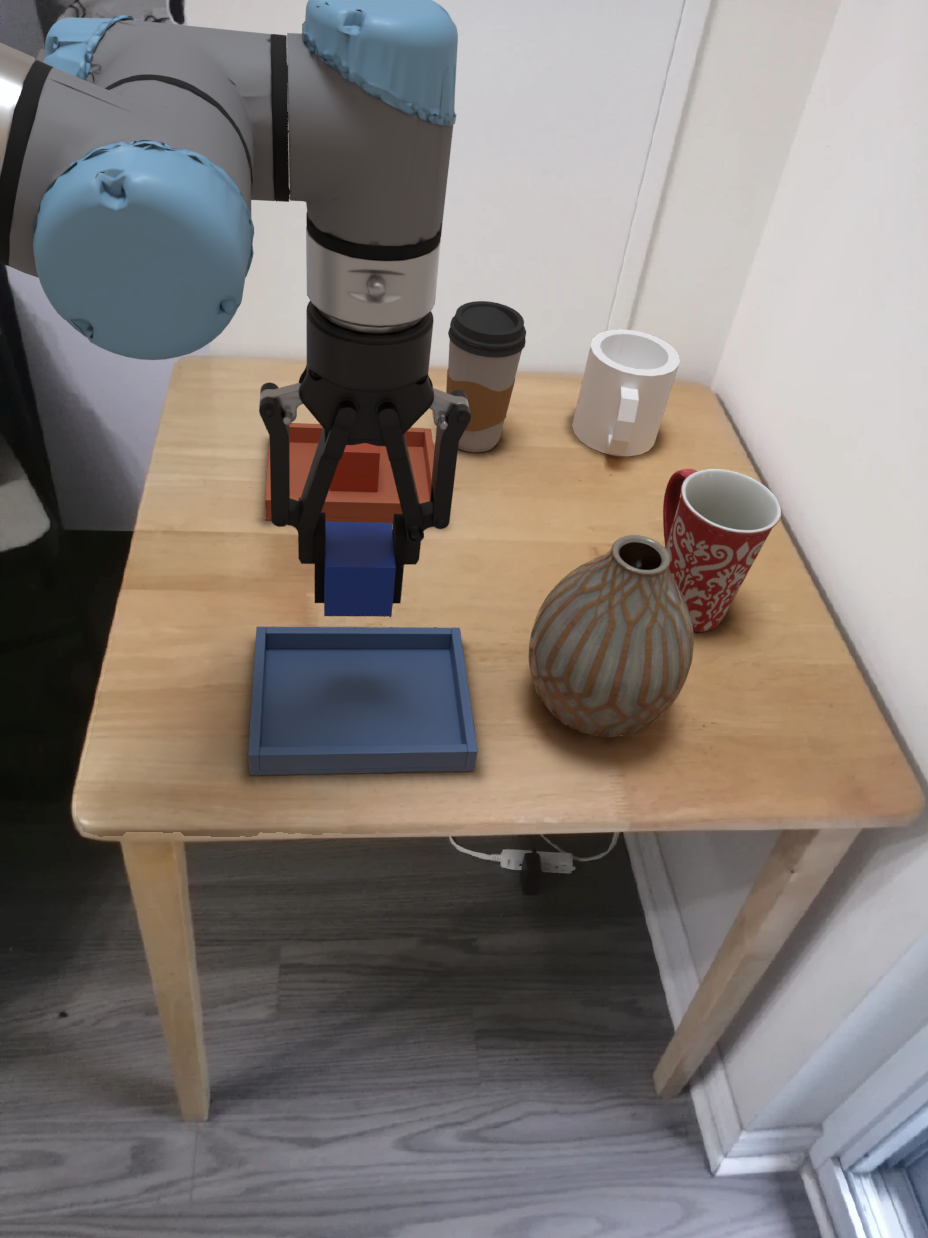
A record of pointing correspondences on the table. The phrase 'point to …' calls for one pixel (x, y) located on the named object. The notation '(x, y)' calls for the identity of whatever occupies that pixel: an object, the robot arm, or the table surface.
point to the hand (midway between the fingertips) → (357, 590)
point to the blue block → (359, 569)
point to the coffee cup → (484, 367)
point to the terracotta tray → (350, 502)
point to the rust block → (357, 469)
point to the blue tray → (360, 701)
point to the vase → (613, 641)
